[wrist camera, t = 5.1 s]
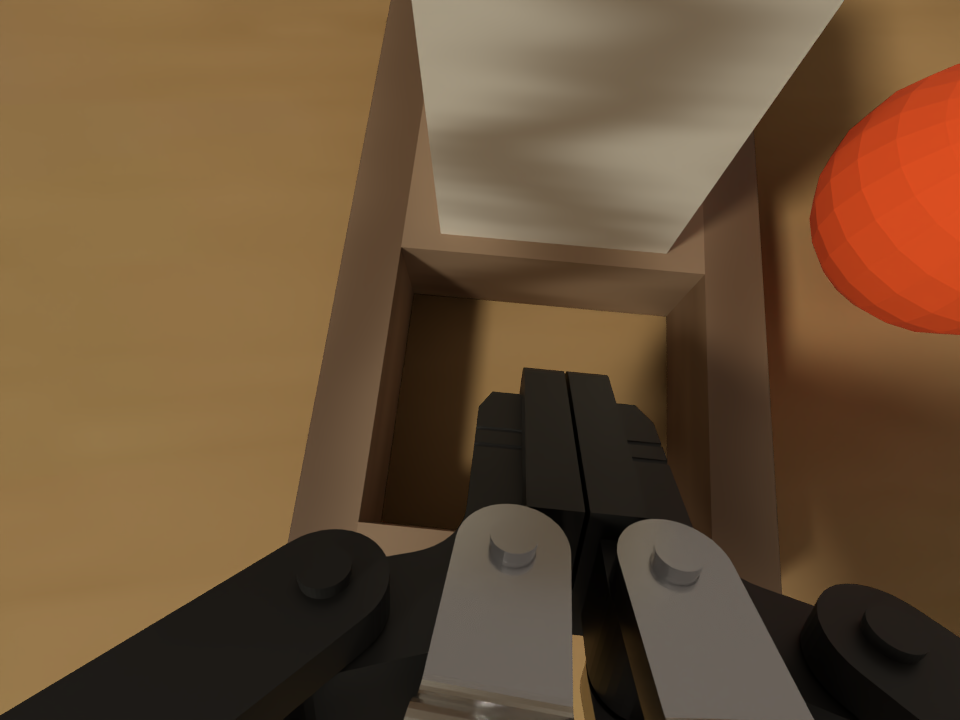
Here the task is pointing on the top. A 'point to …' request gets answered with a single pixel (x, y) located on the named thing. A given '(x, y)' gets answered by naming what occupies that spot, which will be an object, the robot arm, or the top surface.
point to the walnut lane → (553, 282)
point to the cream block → (597, 109)
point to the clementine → (897, 209)
